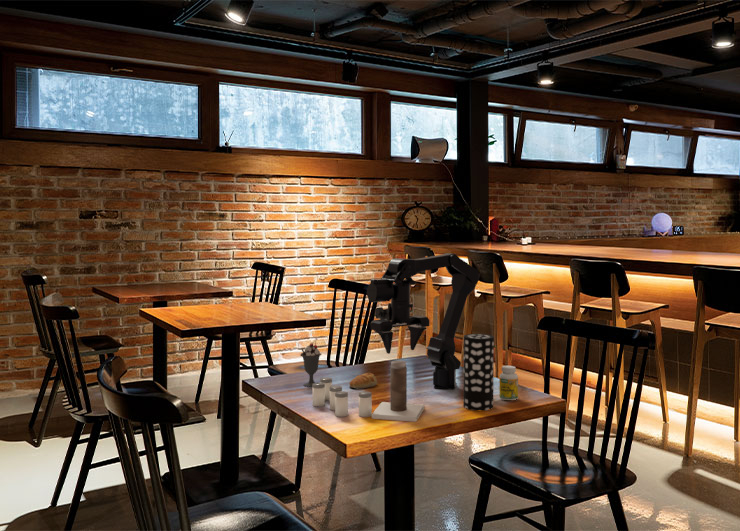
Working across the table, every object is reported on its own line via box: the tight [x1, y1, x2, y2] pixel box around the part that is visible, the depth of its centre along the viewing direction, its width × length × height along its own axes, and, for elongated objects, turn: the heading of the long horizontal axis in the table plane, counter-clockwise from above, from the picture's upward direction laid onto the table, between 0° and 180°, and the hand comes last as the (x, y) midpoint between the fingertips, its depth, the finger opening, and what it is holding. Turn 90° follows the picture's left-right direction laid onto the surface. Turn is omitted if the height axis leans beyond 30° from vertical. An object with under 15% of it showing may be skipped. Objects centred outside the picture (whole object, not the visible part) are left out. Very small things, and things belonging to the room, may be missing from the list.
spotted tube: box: [462, 333, 495, 411], centre depth 183 cm, size 8×8×20 cm
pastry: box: [349, 372, 378, 390], centre depth 207 cm, size 9×7×4 cm
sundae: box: [300, 337, 322, 388], centre depth 208 cm, size 7×7×15 cm
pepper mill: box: [389, 360, 408, 412], centre depth 176 cm, size 4×4×13 cm
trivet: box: [371, 401, 425, 422], centre depth 177 cm, size 12×12×1 cm
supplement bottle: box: [498, 365, 519, 401], centre depth 191 cm, size 5×5×10 cm
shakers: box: [311, 377, 373, 418], centre depth 182 cm, size 8×24×6 cm, turn 35°
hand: (400, 351), depth 196 cm, fingers open, 9 cm apart
